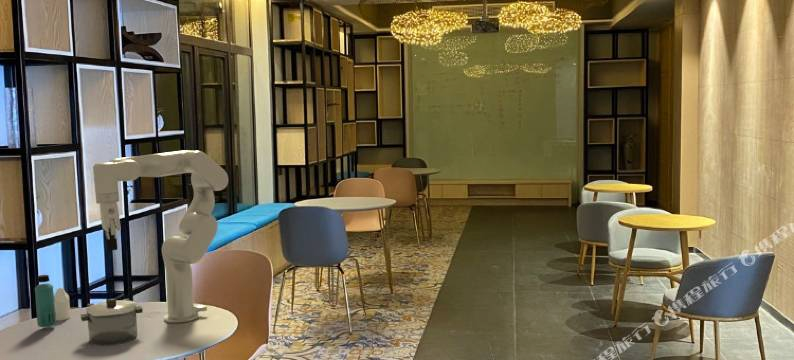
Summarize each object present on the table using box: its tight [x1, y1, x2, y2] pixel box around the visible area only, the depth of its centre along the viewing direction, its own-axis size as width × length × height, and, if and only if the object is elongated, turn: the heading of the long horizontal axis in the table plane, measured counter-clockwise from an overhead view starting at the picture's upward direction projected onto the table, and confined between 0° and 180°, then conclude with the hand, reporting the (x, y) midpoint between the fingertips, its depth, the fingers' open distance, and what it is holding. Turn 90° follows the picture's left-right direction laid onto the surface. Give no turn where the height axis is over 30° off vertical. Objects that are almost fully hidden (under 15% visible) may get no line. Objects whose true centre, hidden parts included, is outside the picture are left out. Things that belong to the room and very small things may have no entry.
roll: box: [54, 287, 71, 322], centre depth 300 cm, size 6×12×6 cm
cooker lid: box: [85, 298, 137, 316], centre depth 272 cm, size 16×16×4 cm
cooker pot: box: [80, 298, 144, 346], centre depth 273 cm, size 20×17×11 cm
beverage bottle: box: [34, 274, 57, 328], centre depth 286 cm, size 6×7×20 cm
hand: (112, 249), depth 271 cm, fingers closed
